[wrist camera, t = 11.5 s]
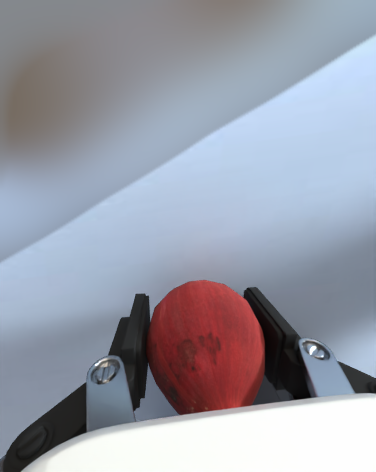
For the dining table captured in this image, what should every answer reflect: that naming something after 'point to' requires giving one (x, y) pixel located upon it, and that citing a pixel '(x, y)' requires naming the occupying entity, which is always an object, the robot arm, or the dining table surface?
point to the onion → (206, 348)
